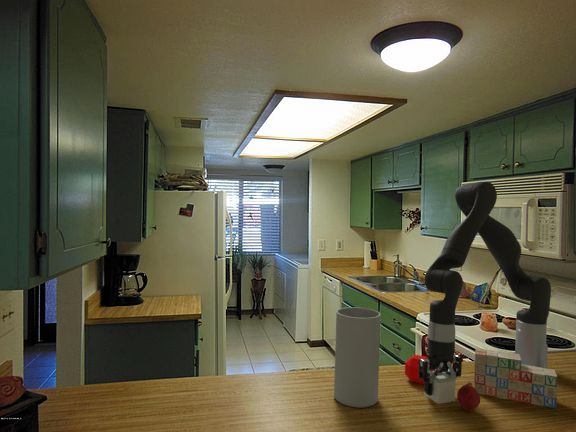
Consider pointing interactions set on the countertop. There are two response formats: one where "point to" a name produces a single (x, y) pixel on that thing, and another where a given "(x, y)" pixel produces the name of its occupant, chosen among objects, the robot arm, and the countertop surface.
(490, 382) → the stack of blocks
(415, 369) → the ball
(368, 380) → the cylinder vase
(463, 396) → the onion
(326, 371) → the countertop surface
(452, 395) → the socket block
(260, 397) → the countertop surface
